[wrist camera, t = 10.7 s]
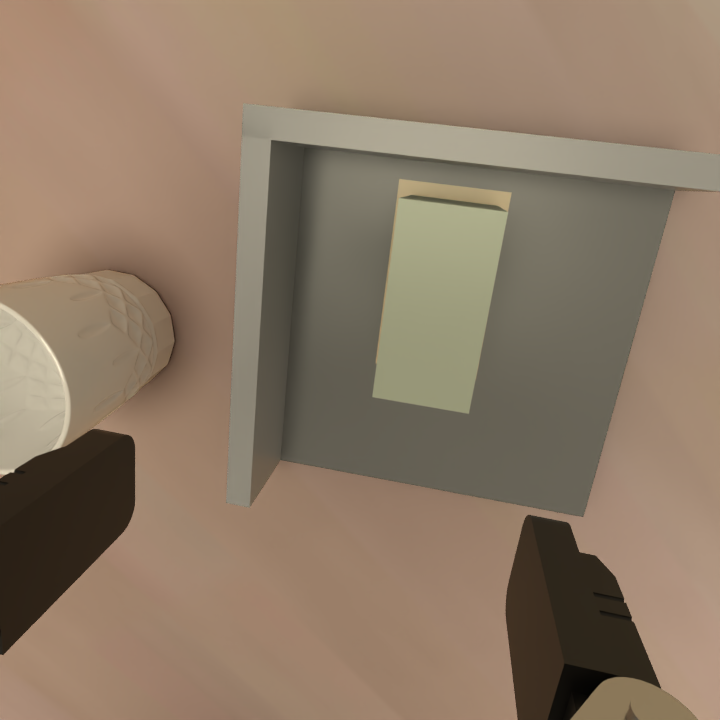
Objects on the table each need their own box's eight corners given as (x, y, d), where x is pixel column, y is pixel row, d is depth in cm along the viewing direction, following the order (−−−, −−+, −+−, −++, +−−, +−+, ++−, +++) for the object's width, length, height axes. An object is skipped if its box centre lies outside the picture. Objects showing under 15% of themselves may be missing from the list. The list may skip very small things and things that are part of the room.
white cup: (90, 404, 34) (-51, 488, 25) (36, 279, 32) (-139, 319, 23) (205, 377, 32) (99, 457, 23) (155, 242, 30) (17, 269, 21)
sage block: (497, 205, 26) (508, 212, 20) (467, 367, 28) (468, 413, 23) (411, 194, 26) (398, 197, 21) (389, 355, 29) (372, 397, 23)
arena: (580, 508, 31) (606, 579, 25) (264, 449, 33) (226, 503, 27) (676, 162, 25) (737, 156, 19) (286, 119, 27) (243, 103, 22)
